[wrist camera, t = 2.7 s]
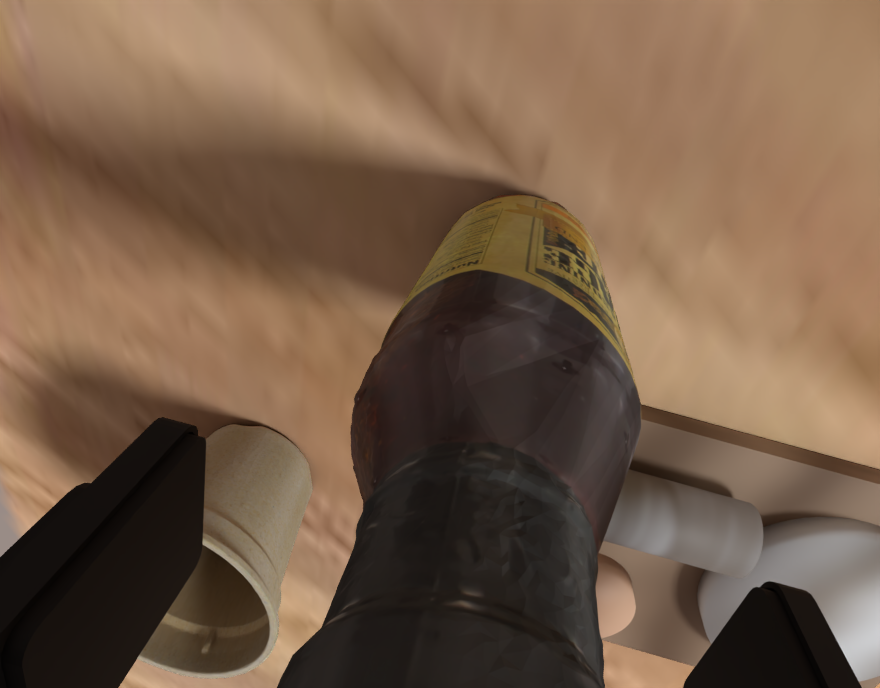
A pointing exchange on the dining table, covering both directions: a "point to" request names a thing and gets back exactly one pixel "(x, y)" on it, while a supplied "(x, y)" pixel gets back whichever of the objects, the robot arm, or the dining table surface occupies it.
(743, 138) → the dining table surface
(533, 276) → the sauce bottle
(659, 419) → the board
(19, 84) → the dining table surface
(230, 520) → the flower pot
